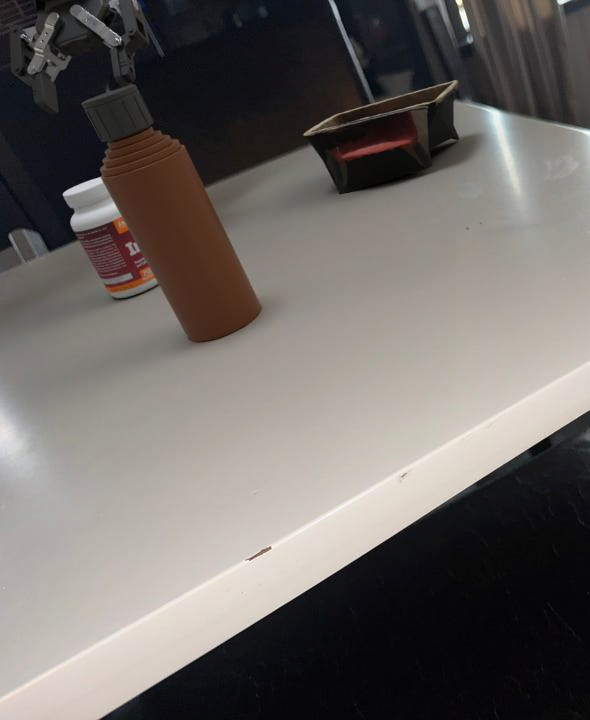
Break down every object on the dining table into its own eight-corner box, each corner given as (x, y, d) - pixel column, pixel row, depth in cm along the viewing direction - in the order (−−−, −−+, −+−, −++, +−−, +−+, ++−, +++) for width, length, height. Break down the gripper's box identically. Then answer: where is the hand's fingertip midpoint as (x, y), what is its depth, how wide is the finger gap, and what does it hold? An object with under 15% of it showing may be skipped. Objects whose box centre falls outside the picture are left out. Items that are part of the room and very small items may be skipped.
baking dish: (373, 171, 101) (332, 101, 96) (492, 122, 93) (455, 43, 88) (331, 223, 90) (284, 147, 85) (463, 173, 82) (418, 86, 77)
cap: (92, 146, 55) (71, 107, 53) (114, 133, 58) (95, 96, 57) (142, 130, 54) (122, 91, 53) (161, 118, 58) (143, 80, 56)
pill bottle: (159, 289, 76) (102, 185, 71) (102, 306, 77) (42, 204, 72) (178, 265, 82) (126, 167, 77) (125, 281, 83) (70, 184, 77)
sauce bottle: (177, 349, 62) (51, 123, 53) (201, 314, 67) (90, 104, 58) (251, 329, 61) (136, 96, 52) (269, 295, 66) (167, 79, 57)
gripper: (-17, -34, 81) (-3, 99, 77) (107, -78, 79) (127, 55, 75) (34, 12, 88) (49, 136, 84) (148, -27, 86) (169, 96, 83)
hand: (86, 97), depth 80 cm, fingers open, 8 cm apart
